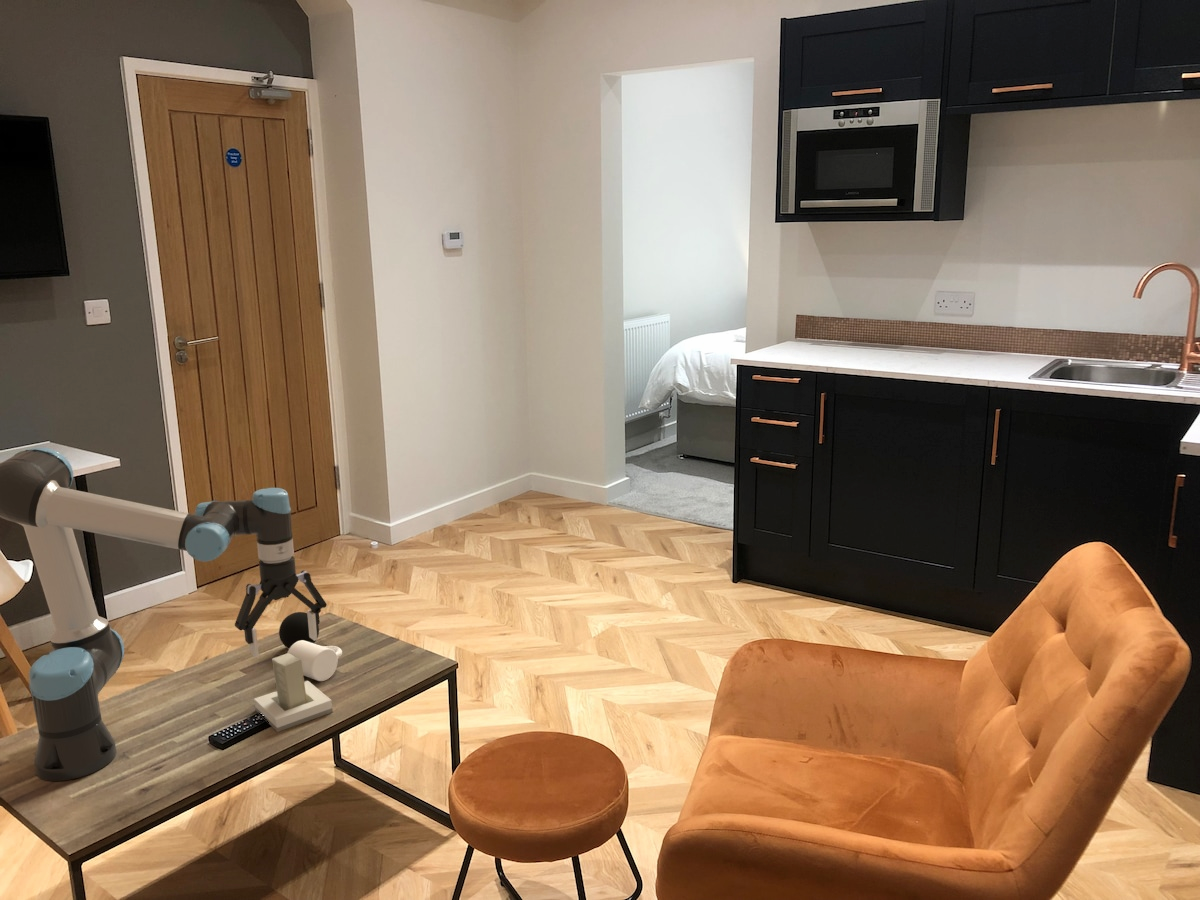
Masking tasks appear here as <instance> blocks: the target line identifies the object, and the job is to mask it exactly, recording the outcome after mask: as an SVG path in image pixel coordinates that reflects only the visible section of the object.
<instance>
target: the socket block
mask: <svg viewBox="0 0 1200 900" xmlns="http://www.w3.org/2000/svg"><path fill="white" fill-rule="evenodd" d="M304 684H305V691H306V699H307V703H306V704H303V705H300V706H298V707H295V708H292V709H289V710H286V711H285V710H283V709H282V708H281V707H280V706H279V703H278V696H277V690H276V691H273V692H270V693H269V692H268V693H266V694H264V695H261V696H258V697H255V698H253V703H254V709H255V712H256V713H258V712H259V713H262V714H263V715H264V716H265V718H266V719H267V720H268V722H269V723H268V722H267V723H268V724H269V725H270V726H271V727H272V729H274V730H275V731H276V732H277V733H279V732H282V731H284V730H287V729H290V728H292V727H296V726H298V725H300V724H303V723H306V722H310V721H312V720H314V719H317V718H320V717H323V716H326V715H328V714H332V713H334V711H333V701H332V699H331V698H330V697H328V695H326V694H325V693H324V692H322V691H321V690H320V689H319V688H318V687H317V686H315V685H314V684H313V683H311V681H309V680H304ZM259 713H258V714H259Z"/></svg>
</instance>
